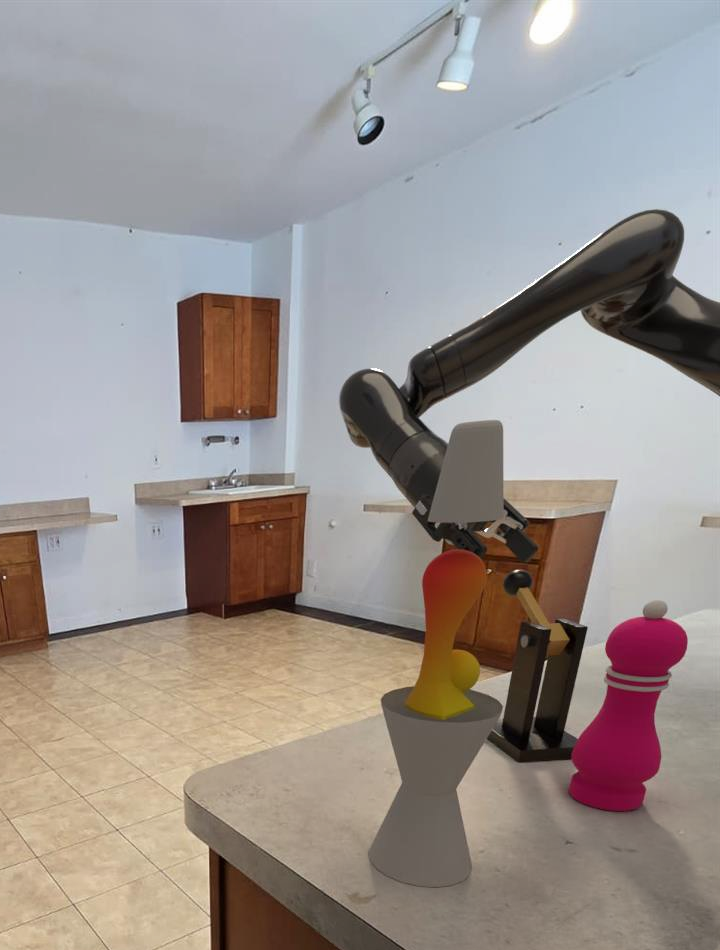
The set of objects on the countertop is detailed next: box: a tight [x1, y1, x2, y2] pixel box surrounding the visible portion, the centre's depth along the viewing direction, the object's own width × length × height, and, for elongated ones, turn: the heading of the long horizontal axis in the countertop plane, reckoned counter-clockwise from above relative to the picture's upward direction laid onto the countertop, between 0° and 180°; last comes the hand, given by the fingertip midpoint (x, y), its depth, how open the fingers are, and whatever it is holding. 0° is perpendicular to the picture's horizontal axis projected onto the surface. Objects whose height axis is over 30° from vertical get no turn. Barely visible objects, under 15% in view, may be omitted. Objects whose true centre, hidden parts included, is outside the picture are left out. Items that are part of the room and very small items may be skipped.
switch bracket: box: [486, 618, 589, 763], centre depth 75 cm, size 10×8×15 cm
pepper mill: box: [568, 599, 689, 812], centre depth 61 cm, size 7×7×20 cm
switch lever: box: [502, 569, 570, 657], centre depth 76 cm, size 13×3×3 cm, turn 1°
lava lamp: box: [367, 419, 505, 888], centre depth 50 cm, size 9×9×35 cm
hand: (506, 556), depth 75 cm, fingers open, 8 cm apart
